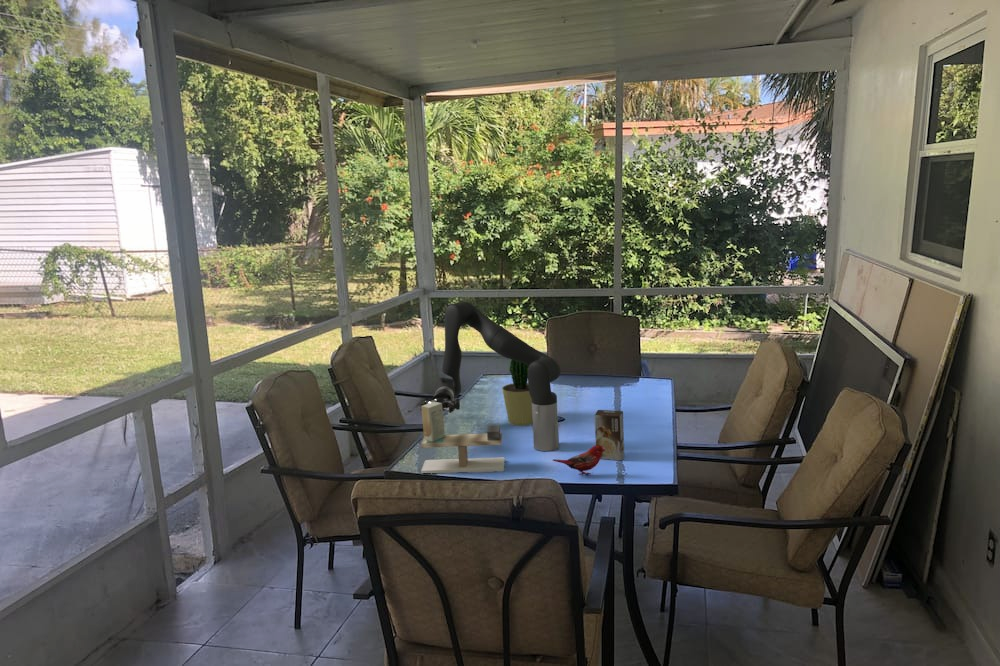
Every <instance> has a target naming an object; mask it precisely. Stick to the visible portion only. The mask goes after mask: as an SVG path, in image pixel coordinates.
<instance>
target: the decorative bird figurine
mask: <svg viewBox="0 0 1000 666" xmlns="http://www.w3.org/2000/svg"><path fill="white" fill-rule="evenodd" d="M604 451H605V450H604V449H603V448H602V447H601V446H600V445H596V444H595V445H594V446H592V447H591V448H589V450H587V451H585V452H582V453H580V454H576V455H574V456H572V457H570V458H568V459H555V458H554V459H552V461H553V462H557V463H561V464H565V465H566V466H567V467H569V468H570V469H573V470H577V471H578V472H579V474H578V475H581V474H589V475H592V474H591V473H592V472H591V473H590V472H586V471H589V470H592V469H594V468H595V467H596V466H597V465H598V464H599V463H600V460H601V459H600V458H601V456H602V452H604Z"/></svg>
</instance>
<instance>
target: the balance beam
mask: <svg viewBox="0 0 1000 666" xmlns="http://www.w3.org/2000/svg"><path fill="white" fill-rule="evenodd" d="M500 426H501V425H500V424H498V425H497V424H496V425H490V424H489V425H488V426H487V431H486V433H467V434H466V433H462V434H445V437H442V438H440V439H438V440H436V441H433V442H431V441H428V440H424V437H423V438H422V441H421V442H420V444H421V445H420V446H421V448H422V449H425V448H426V449H427V448H449V447H451V448H453V447H458V446H467V447H476V446H477V447H478V446H481V447H482V446H483V447H484V446H501V445H502V439H503V436H502V435H503V433H502V432H501V427H500Z"/></svg>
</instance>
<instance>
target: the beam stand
mask: <svg viewBox="0 0 1000 666" xmlns="http://www.w3.org/2000/svg"><path fill="white" fill-rule="evenodd" d="M457 451H458V453H457V454H458V458H449V459H448V458H445V459H442V458H441V459H426V460H424V463H423V465H422V467H421V470H420V472H421V473H431V474H430V475H432V473H437V475H438V473H439V474H458V473H457V472H468V473H487V472H489V473H490V472H491V473H492V472H494V471H497V472H504V471H505V463H504V462H505V461H506V459H505V457H503V456H502V457H501V456H500V457H477V458H476V457H475V458H468V457H469V456H468V446H457ZM421 473H420V474H421Z"/></svg>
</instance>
